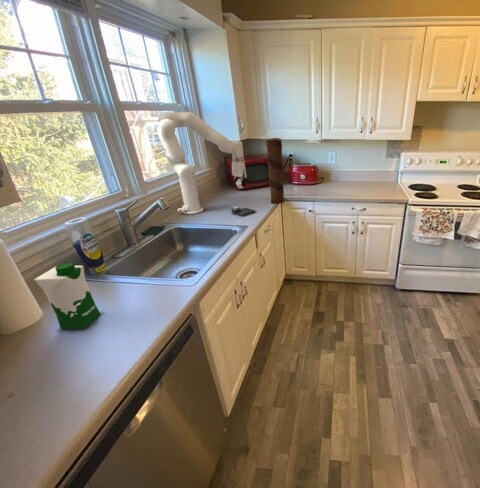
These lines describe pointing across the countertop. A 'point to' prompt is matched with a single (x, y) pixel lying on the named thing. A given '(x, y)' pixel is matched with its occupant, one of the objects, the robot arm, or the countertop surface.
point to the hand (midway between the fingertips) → (240, 185)
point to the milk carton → (69, 296)
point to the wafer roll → (275, 169)
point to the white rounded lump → (239, 183)
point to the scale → (242, 211)
